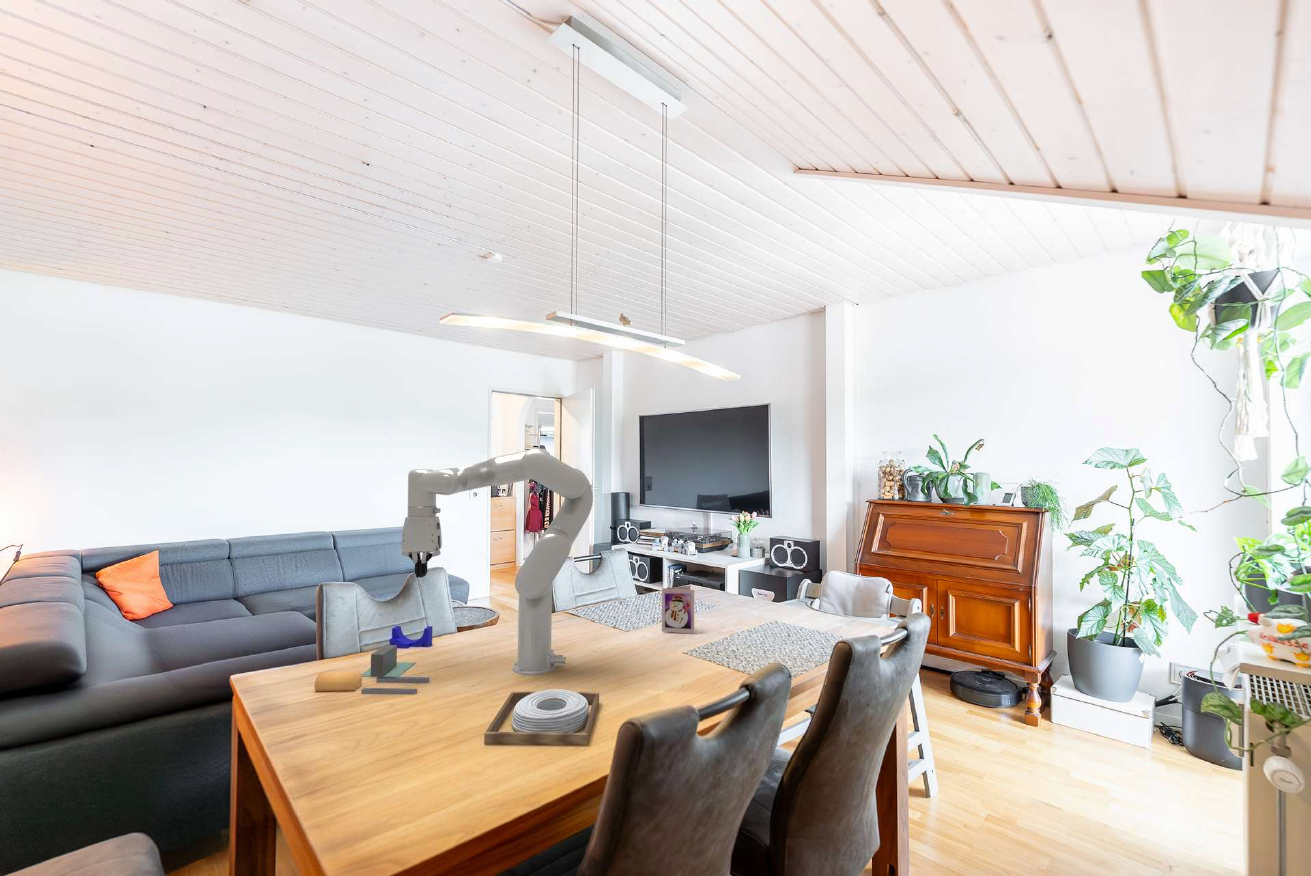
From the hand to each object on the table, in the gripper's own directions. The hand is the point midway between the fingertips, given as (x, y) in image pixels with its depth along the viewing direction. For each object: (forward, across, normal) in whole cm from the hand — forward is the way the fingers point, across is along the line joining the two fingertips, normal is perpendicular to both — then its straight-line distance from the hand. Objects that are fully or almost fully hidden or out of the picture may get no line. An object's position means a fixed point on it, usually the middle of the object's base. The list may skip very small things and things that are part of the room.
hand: (420, 576), depth 166 cm
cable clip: (+28, +12, -22) cm, 37 cm away
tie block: (+27, +10, 0) cm, 29 cm away
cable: (+28, -44, +32) cm, 61 cm away
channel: (+27, +1, +12) cm, 30 cm away
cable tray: (+27, -43, +32) cm, 60 cm away
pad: (+27, +10, -1) cm, 29 cm away
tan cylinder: (+27, +16, +12) cm, 34 cm away
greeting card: (+27, -75, -42) cm, 90 cm away
